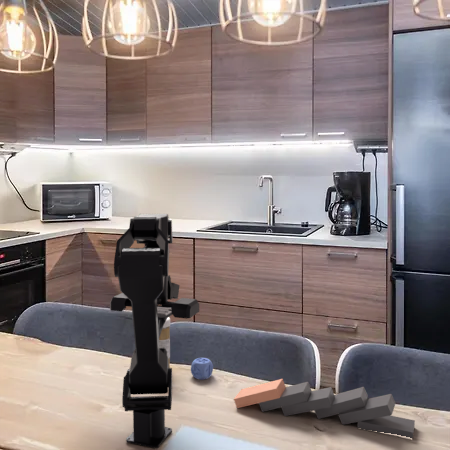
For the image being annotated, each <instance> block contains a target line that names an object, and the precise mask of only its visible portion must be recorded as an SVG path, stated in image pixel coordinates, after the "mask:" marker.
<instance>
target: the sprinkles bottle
mask: <svg viewBox="0 0 450 450" xmlns="http://www.w3.org/2000/svg"><path fill="white" fill-rule="evenodd" d="M170 328H171V318H170V316H169V317H168V318H167V319H166V321H165V323H164V326H163V328H162V331H161V334H160V337H159V348H165V349H166V351H167V356H168V365H169V368H171V364H170V362H171V360H170V359H171V337H170V335H171V334H170Z"/></svg>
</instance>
